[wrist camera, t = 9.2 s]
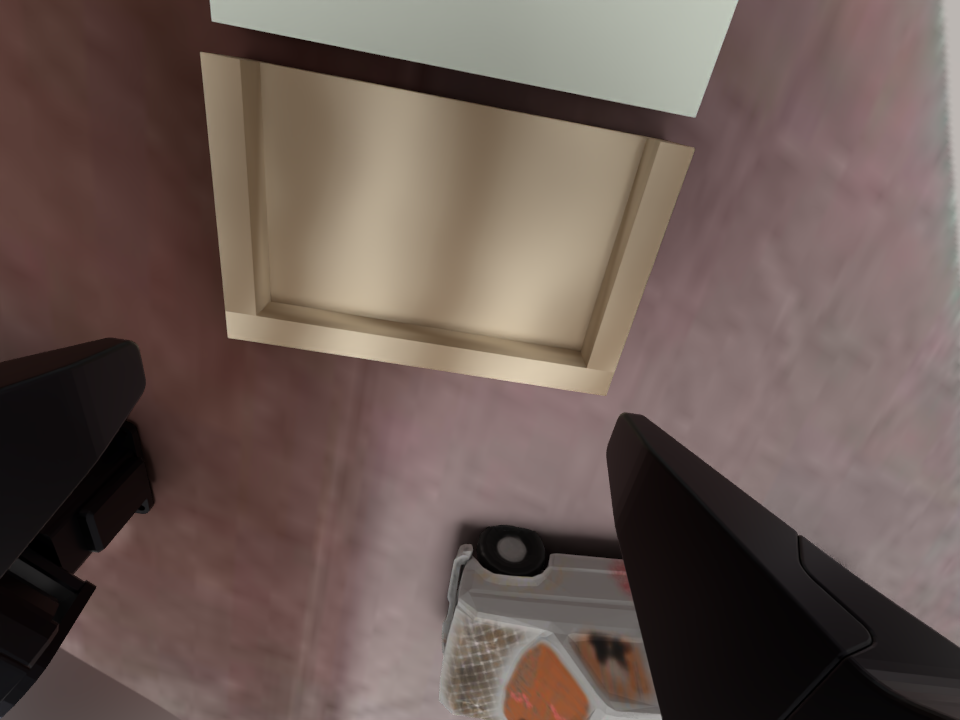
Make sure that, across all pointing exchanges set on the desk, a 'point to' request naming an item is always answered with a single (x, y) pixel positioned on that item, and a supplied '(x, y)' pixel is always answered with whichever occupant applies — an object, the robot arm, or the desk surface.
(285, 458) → the desk surface
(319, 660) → the desk surface
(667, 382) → the desk surface
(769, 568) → the robot arm
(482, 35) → the panel
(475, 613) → the toy car
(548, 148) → the tray
